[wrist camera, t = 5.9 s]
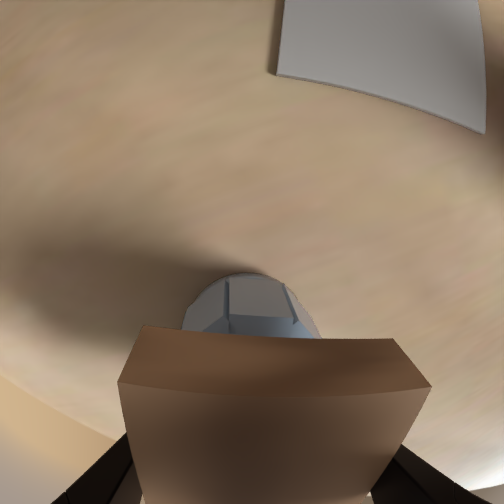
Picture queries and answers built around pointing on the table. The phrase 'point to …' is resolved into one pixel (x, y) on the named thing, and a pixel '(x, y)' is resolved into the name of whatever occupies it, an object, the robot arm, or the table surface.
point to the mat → (392, 52)
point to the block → (265, 416)
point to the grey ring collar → (249, 309)
